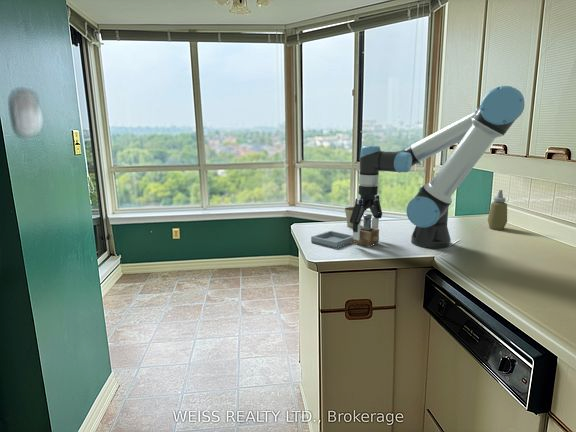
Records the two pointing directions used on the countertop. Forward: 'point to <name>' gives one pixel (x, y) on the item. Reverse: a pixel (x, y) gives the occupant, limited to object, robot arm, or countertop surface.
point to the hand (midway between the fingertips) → (365, 236)
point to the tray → (332, 239)
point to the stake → (367, 222)
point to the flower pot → (349, 215)
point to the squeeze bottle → (498, 212)
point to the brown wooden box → (368, 237)
